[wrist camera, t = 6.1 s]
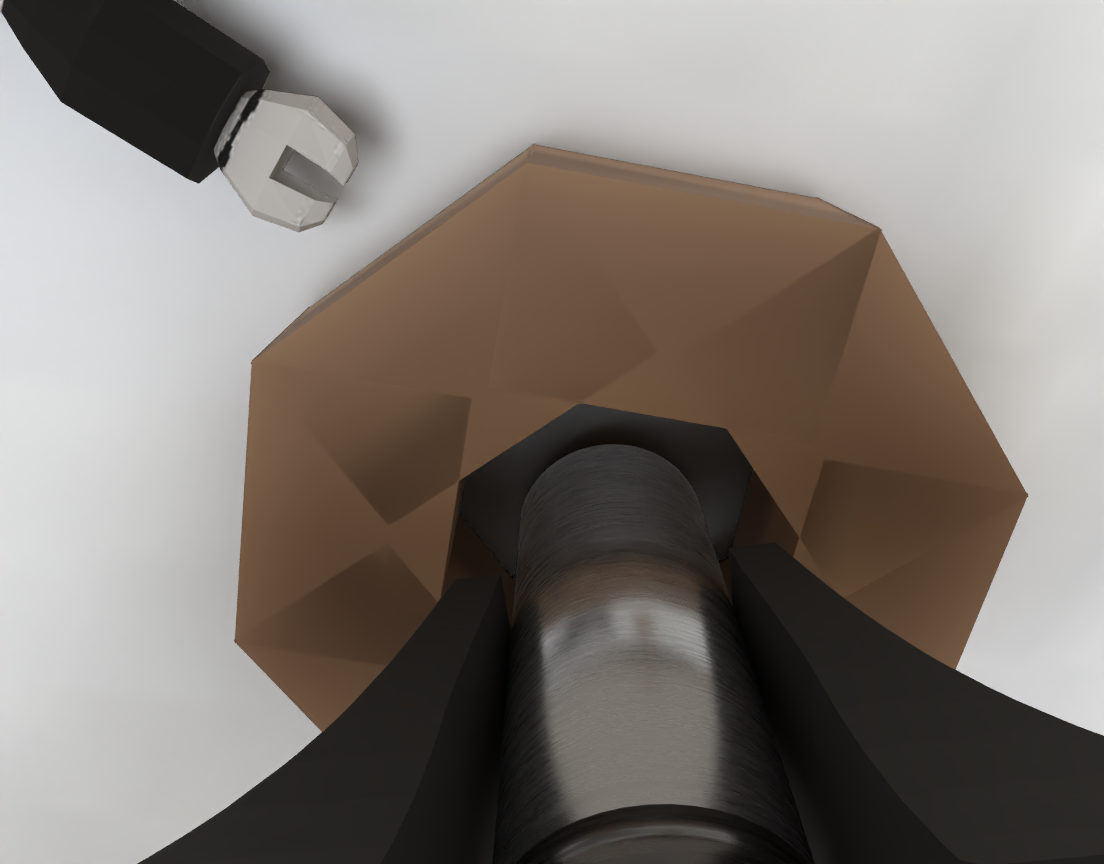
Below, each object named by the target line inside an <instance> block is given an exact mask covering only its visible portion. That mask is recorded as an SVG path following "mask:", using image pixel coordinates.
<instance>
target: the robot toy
mask: <svg viewBox="0 0 1104 864" xmlns="http://www.w3.org/2000/svg"><path fill="white" fill-rule="evenodd" d="M0 11H1V12H2V14H3V15H4V17H5V19H6V20H7V22H8V24H9V25H10V27H11V29H12V30H13V32H14V34H15V35H16V37H17V39H18V40H19V42H20V44H21V45H22V47H23V48H24V50H25V51H26V53H27V54H28V55H29V57H30V58H31V60H32V61H33V63H34V64H35V65H36V67H37V68H38V70H39V71H40V73H41V74H42V75H43V77H44V78H45V80H46V81H47V82H48V84H49V85H50V87H51V88H52V90H53V91H54V92H55V94H56V95H57V97H58V98H59V99H60V101H61V102H62V103H64V104H65V105H67V106H69V107H70V108H72V109H74V110H75V111H77V112H79V113H80V114H82V115H83V116H85V117H87V118H88V119H90V120H92V121H93V122H95V123H97V124H98V125H100V126H102V127H103V128H105V129H107V130H108V131H110V132H111V133H113V134H115V135H116V136H118V137H120V138H121V139H123V140H125V141H126V142H128V143H130V144H131V145H133V146H134V147H136V148H138V149H139V150H141V151H143V152H144V153H146V154H148V155H149V156H151V157H153V158H154V159H156V160H157V161H159V162H161V163H162V164H164V165H166V166H167V167H169V168H171V169H172V170H174V171H176V172H177V173H179V174H180V175H182V176H184V177H185V178H187V179H189V180H192V181H194V182H196V183H200V182H201V181H202V180H204V179H205V178H206V177H207V176H208V175H210V174H211V173H212V172H213V171H214V170H216V169H217V168H218V167H220V170H221V171H222V172H223V174H224V175H225V177H226V178H227V179H228V181H229V182H230V184H231V185H232V187H233V188H234V189H235V191H236V192H237V194H238V195H239V196H240V198H241V199H242V201H243V202H244V204H245V205H246V206H247V208H248V209H249V211H250V212H251V214H252V215H253V216H255V217H258V218H261V219H263V220H266V221H269V222H272V223H275V224H277V225H280V226H283V227H286V228H289V229H291V230H294V231H297V232H301V231H304V230H307V229H309V228H312V227H315V226H318V225H321V224H323V223H324V221H325V220H326V218H327V217H328V215H329V214H330V212H331V210H332V208H333V207H334V205H335V203H336V201H337V200H338V199H336V198H333V197H330V196H327V195H324V194H322V193H320V192H319V191H317V190H316V189H314V188H312V187H311V186H309V185H307V184H306V183H304V182H302V181H301V180H299V179H298V178H296V177H294V176H293V175H291V174H289V173H288V172H286V171H285V170H283V169H284V168H285V166H286V164H287V162H288V160H289V158H290V157H291V155H292V153H293V151H294V150H296V151H297V152H299V153H300V154H302V155H303V156H305V157H306V158H308V159H309V160H311V161H312V162H314V163H315V164H317V165H318V166H320V167H321V168H323V169H324V170H326V171H327V172H329V173H330V174H331V175H332V176H333V177H334V178H335V179H336V180H337V181H338V182H339V183H340V184H341V185H342V186H344V185H345V183H346V182H348V180H349V179H350V177H351V175H352V173H353V172H354V170H355V168H356V167H357V164H358V154H357V147H356V140H355V134H354V133H353V132H352V131H351V130H350V129H349V128H348V127H347V126H346V125H345V124H344V123H343V122H342V121H341V120H340V119H339V118H338V117H337V116H336V115H335V114H334V113H333V112H332V111H331V110H330V108H329V107H328V106H327V105H326V104H325V103H324V102H323V101H322V100H321V99H320V98H319V97H315V96H307V95H300V94H293V93H286V92H278V91H271V90H264V89H262V87H263V85H264V83H265V81H266V78H267V76H268V74H269V70H268V68H267V66H266V64H265V62H264V61H263V59H261V58H260V57H258V56H257V55H255V54H253V53H252V52H250V51H249V50H247V49H246V48H244V47H243V46H241V45H240V44H238V43H237V42H235V41H234V40H232V39H231V38H229V37H228V36H226V35H225V34H223V33H222V32H220V31H219V30H217V29H216V28H214V27H213V26H211V25H210V24H208V23H207V22H205V21H204V20H202V19H201V18H199V17H198V16H196V15H195V14H193V13H191V12H190V11H188V10H187V9H185V8H184V7H182V6H181V5H179V4H178V3H176V2H175V1H173V0H0Z"/></svg>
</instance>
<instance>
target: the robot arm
mask: <svg viewBox="0 0 1104 864" xmlns="http://www.w3.org/2000/svg"><path fill="white" fill-rule="evenodd" d="M729 561H730V574H731V588H732V602H733V609H734V613H735V616H736V619H737V622H738V625H739V628H740V631H741V634H742V638H743V641H744V644H745V647H746V650H747V653H748V656H749V659H750V663H751V666H752V669H753V672H754V675H755V678H756V681H757V684H758V688H759V691H760V694H761V697H762V700H763V703H764V706H765V709H766V713H767V716H768V719H769V722H770V725H771V728H772V731H773V734H774V738H775V741H776V744H777V747H778V750H779V753H780V756H781V759H782V762H783V766H784V769H785V772H786V775H787V778H788V781H789V784H790V787H791V791H792V794H793V797H794V800H795V803H796V806H797V809H798V812H799V816H800V819H801V822H802V825H803V828H804V831H805V834H806V837H807V841H808V844H809V847H810V850H811V853H812V856H813V859H814V862H815V864H1104V736H1102V735H1100V734H1097V733H1094V732H1092V731H1089V730H1086V729H1084V728H1081V727H1078V726H1076V725H1073V724H1071V723H1068V722H1066V721H1064V720H1061V719H1059V718H1056V717H1054V716H1052V715H1049V714H1047V713H1045V712H1042V711H1040V710H1038V709H1035V708H1033V707H1031V706H1028V705H1026V704H1023V703H1021V702H1019V701H1017V700H1014V699H1012V698H1010V697H1008V696H1006V695H1004V694H1002V693H1000V692H997V691H995V690H993V689H991V688H989V687H987V686H985V685H983V684H981V683H980V682H978V681H976V680H974V679H972V678H970V677H968V676H966V675H964V674H962V673H960V672H959V671H957V670H955V669H953V668H951V667H949V666H947V665H945V664H943V663H942V662H940V661H938V660H937V659H935V658H933V657H931V656H930V655H928V654H926V653H924V652H923V651H921V650H920V649H918V648H916V647H915V646H913V645H912V644H910V643H909V642H907V641H905V640H904V639H902V638H901V637H899V636H898V635H896V634H895V633H893V632H891V631H890V630H888V629H887V628H885V627H884V626H882V625H881V624H879V623H878V622H876V621H875V620H874V619H872V618H871V617H869V616H868V615H866V614H865V613H864V612H862V611H861V610H859V609H858V608H857V607H855V606H854V605H853V604H851V603H850V602H849V601H847V600H846V599H845V598H843V597H842V596H841V595H839V594H838V593H837V592H836V591H834V590H833V589H832V588H830V587H829V586H828V585H827V584H825V583H824V582H823V581H822V580H821V579H819V578H818V577H817V576H816V575H814V574H813V573H812V572H811V571H809V570H808V569H807V568H806V567H805V566H803V565H802V564H801V563H800V562H799V561H797V560H796V559H795V558H794V557H792V556H791V555H790V554H789V553H788V552H786V551H785V550H784V549H783V548H781V547H780V546H779V545H778V544H776V543H766V544H757V545H749V546H740V547H731V548H729ZM510 641H511V629H510V623H509V618H508V612H507V606H506V601H505V595H504V590H503V584H502V579H501V574H497V575H488V576H480V577H471V578H462V579H456V580H455V581H454V582H453V584H452V585H451V586H450V587H449V589H448V590H447V591H446V592H445V593H444V595H443V596H442V597H441V598H440V600H439V601H438V602H437V604H436V605H435V606H434V608H433V609H432V610H431V611H430V613H429V614H428V615H427V617H426V618H425V619H424V621H423V622H422V623H421V624H420V626H419V627H418V628H417V630H416V631H415V632H414V633H413V635H412V636H411V637H410V638H409V640H408V641H407V642H406V643H405V644H404V646H403V647H402V648H401V649H400V650H399V652H398V653H397V654H396V655H395V657H394V658H393V659H392V660H391V661H390V663H389V664H388V665H387V666H386V667H385V668H384V670H383V671H382V672H381V673H380V674H379V675H378V676H377V677H376V678H375V679H374V680H373V681H372V683H371V684H370V685H369V686H368V687H367V688H366V689H365V690H364V691H363V692H362V693H361V694H360V696H359V697H358V698H357V699H356V700H355V701H354V702H353V703H352V704H351V705H350V706H349V707H348V708H347V709H346V710H345V711H344V712H343V713H342V714H341V715H340V716H339V717H338V718H337V719H336V720H335V721H334V722H333V723H332V724H331V725H329V726H328V727H327V728H326V729H325V730H324V731H323V732H322V733H321V734H320V735H318V736H317V737H316V738H315V739H314V740H313V741H312V742H310V743H309V744H308V745H307V746H306V747H305V748H304V749H302V750H301V751H300V752H299V753H298V754H297V755H295V756H294V757H293V758H292V759H291V760H289V761H288V762H287V763H286V764H285V765H283V766H282V767H281V768H279V769H278V770H277V771H275V772H274V773H273V774H271V775H270V776H269V777H267V778H266V779H264V780H263V781H262V782H260V783H259V784H258V785H256V786H255V787H254V788H252V789H251V790H250V791H248V792H247V793H246V794H244V795H243V796H242V797H240V798H239V799H238V800H236V801H235V802H234V803H232V804H231V805H230V806H228V807H227V808H226V809H224V810H223V811H221V812H220V813H218V814H217V815H215V816H214V817H212V818H211V819H209V820H208V821H206V822H205V823H203V824H201V825H200V826H198V827H197V828H195V829H194V830H192V831H191V832H189V833H188V834H186V835H184V836H183V837H181V838H180V839H178V840H176V841H175V842H173V843H171V844H170V845H168V846H166V847H165V848H163V849H162V850H160V851H158V852H157V853H155V854H153V855H152V856H150V857H148V858H147V859H145V860H143V861H141V862H140V863H138V864H492V862H493V850H494V838H495V825H496V813H497V801H498V789H499V776H500V764H501V752H502V739H503V727H504V715H505V702H506V690H507V678H508V665H509V653H510Z"/></svg>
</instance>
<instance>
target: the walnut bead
mask: <svg viewBox="0 0 1104 864" xmlns="http://www.w3.org/2000/svg"><path fill="white" fill-rule="evenodd" d="M881 230H882V229H880V228H879V227H877V226H875V225H873V224H871V223H869V222H867V221H865V220H862V219H860V218H858V217H856V216H854V215H852V214H850V213H848V212H846V211H844V210H842V209H840V208H838V207H836V206H834V205H832V204H830V203H828V202H825V201H823V200H821V199H819V198H812V197H807V196H802V195H796V194H791V193H786V192H781V191H775V190H770V189H765V188H760V187H754V186H749V185H744V184H738V183H733V182H728V181H723V180H717V179H712V178H707V177H702V176H696V175H691V174H686V173H680V172H675V171H670V170H665V169H659V168H654V167H649V166H644V165H638V164H633V163H628V162H622V161H617V160H612V159H607V158H601V157H596V156H591V155H586V154H580V153H575V152H570V151H564V150H559V149H554V148H549V147H543V146H538V145H535V144H532V146H531V147H529V148H528V149H527V150H525V151H524V152H522V153H521V154H520V155H518V156H517V157H516V158H514V159H513V160H511V161H510V162H509V163H507V164H506V165H505V166H503V167H502V168H501V169H499V170H498V171H496V172H495V173H494V174H492V175H491V176H490V177H488V178H487V179H485V180H484V181H483V182H481V183H480V184H479V185H477V186H476V187H474V188H473V189H472V190H470V191H469V192H468V193H466V194H465V195H463V196H462V197H461V198H459V199H458V200H457V201H455V202H454V203H453V204H451V205H450V206H448V207H447V208H446V209H444V210H443V211H442V212H440V213H439V214H437V215H436V216H435V217H433V218H432V219H431V220H429V221H428V222H426V223H425V224H424V225H422V226H421V227H420V228H418V229H417V230H415V231H414V232H413V233H411V234H410V235H409V236H407V237H406V238H405V239H403V240H402V241H400V242H399V243H398V244H396V245H395V246H394V247H392V248H391V249H389V250H388V251H387V252H385V253H384V254H383V255H381V256H380V257H378V258H377V259H376V260H374V261H373V262H372V263H370V264H369V265H367V266H366V267H365V268H363V269H362V270H361V271H359V272H358V273H357V274H355V275H354V276H352V277H351V278H350V279H348V280H347V281H346V282H344V283H343V284H341V285H340V286H339V287H337V288H336V289H335V290H333V291H332V292H330V293H329V294H328V295H326V296H325V297H324V298H322V299H321V300H319V301H318V302H317V303H315V304H314V305H313V306H311V307H308V308H307V309H306V310H305V311H304V312H303V313H302V314H301V315H300V316H299V317H298V318H297V319H296V320H295V321H294V322H293V323H291V324H290V325H289V326H288V327H287V328H286V329H285V330H284V331H283V332H282V333H281V334H280V335H279V336H278V337H277V338H275V339H274V340H273V341H272V342H271V343H270V344H269V345H268V346H267V347H266V348H265V349H264V350H263V351H262V352H261V353H260V354H258V355H257V356H256V357H255V358H254V359H253V360H252V362H251V364H252V369H251V385H250V402H249V418H248V435H247V451H246V468H245V484H244V500H243V517H242V533H241V550H240V566H239V583H238V599H237V616H236V632H235V640H234V641H235V643H237V645H238V646H239V647H240V648H241V649H242V650H243V651H244V652H245V653H246V654H247V655H248V656H249V657H250V658H251V659H252V660H253V661H254V662H255V663H256V664H257V665H258V666H259V667H260V668H261V669H262V670H263V671H264V672H265V673H266V674H267V675H268V676H269V678H270V679H271V680H272V681H273V682H274V683H275V684H276V685H277V686H278V687H279V688H280V689H281V690H282V691H283V692H284V693H285V694H286V695H287V696H288V697H289V698H290V699H291V700H292V701H293V702H294V703H295V704H296V705H297V706H298V707H299V708H300V709H301V711H302V712H303V713H304V714H305V715H306V716H307V717H308V718H309V719H310V720H311V721H312V722H313V723H314V724H315V725H316V726H317V727H318V728H319V729H320V730H321V731H322V732H323V731H324V730H325V729H326V728H327V727H328V726H329V725H331V724H332V723H333V722H334V721H335V720H336V719H337V718H338V717H339V716H340V715H341V714H342V713H343V712H344V711H345V710H346V709H347V708H348V707H349V706H350V705H351V704H352V703H353V702H354V701H355V700H356V699H357V698H358V697H359V696H360V694H361V693H362V692H363V691H364V690H365V689H366V688H367V687H368V686H369V685H370V684H371V683H372V681H373V680H374V679H375V678H376V677H377V676H378V675H379V674H380V673H381V672H382V671H383V670H384V668H385V667H386V666H387V665H388V664H389V663H390V661H391V660H392V659H393V658H394V657H395V655H396V654H397V653H398V652H399V650H400V649H401V648H402V647H403V646H404V644H405V643H406V642H407V641H408V640H409V638H410V637H411V636H412V635H413V633H414V632H415V631H416V630H417V628H418V627H419V626H420V624H421V623H422V622H423V621H424V619H425V618H426V617H427V615H428V614H429V613H430V611H431V610H432V609H433V608H434V606H435V605H436V604H437V602H438V601H439V600H440V598H441V597H442V596H443V595H444V593H445V592H446V591H447V590H448V589H449V587H450V586H451V585H452V584H453V582H454V581H455V580H456V579H462V578H471V577H480V576H488V575H497V574H501V579H502V584H503V590H504V595H505V601H506V606H507V612H508V618H509V623H510V629H511V628H512V616H513V604H514V592H515V581H514V580H513V579H512V577H511V576H510V575H509V574H508V572H507V571H506V570H505V569H504V567H503V566H502V565H501V564H500V563H499V561H498V560H497V559H496V558H495V556H494V555H493V554H492V553H491V551H490V550H489V549H488V548H487V547H486V545H485V544H484V543H483V542H482V540H481V539H480V538H479V537H478V535H477V534H476V533H475V532H474V531H473V529H472V528H471V527H470V526H469V524H468V523H467V522H466V521H465V520H464V518H463V517H462V516H461V515H460V509H461V503H462V497H463V491H464V484H465V478H466V476H467V475H469V474H470V473H472V472H473V471H475V470H476V469H478V468H480V467H481V466H483V465H484V464H486V463H487V462H489V461H490V460H492V459H494V458H495V457H497V456H498V455H500V454H501V453H503V452H504V451H506V450H508V449H509V448H511V447H512V446H514V445H515V444H517V443H518V442H520V441H521V440H523V439H525V438H526V437H528V436H529V435H531V434H532V433H534V432H535V431H537V430H539V429H540V428H542V427H543V426H545V425H546V424H548V423H549V422H551V421H552V420H554V419H556V418H557V417H559V416H560V415H562V414H563V413H565V412H566V411H568V410H570V409H571V408H573V407H574V406H576V405H577V404H579V403H582V404H588V405H593V406H599V407H605V408H611V409H617V410H622V411H628V412H634V413H640V414H645V415H651V416H657V417H663V418H669V419H674V420H680V421H686V422H692V423H697V424H703V425H709V426H715V427H721V428H726V429H727V430H728V432H729V433H730V435H731V436H732V438H733V439H734V441H735V442H736V444H737V445H738V447H739V448H740V450H741V451H742V453H743V454H744V456H745V457H746V459H747V460H748V462H749V463H750V465H751V466H752V468H753V469H754V470H753V473H752V477H751V480H750V484H749V487H748V491H747V494H746V498H745V501H744V505H743V508H742V511H741V515H740V518H739V522H738V525H737V529H736V532H735V536H734V539H733V543H732V546H731V547H740V546H749V545H757V544H766V543H776V544H778V545H779V546H780V547H781V548H783V549H784V550H785V551H786V552H788V553H789V554H790V555H791V556H792V557H794V558H795V559H796V560H797V561H799V562H800V563H801V564H802V565H803V566H805V567H806V568H807V569H808V570H809V571H811V572H812V573H813V574H814V575H816V576H817V577H818V578H819V579H821V580H822V581H823V582H824V583H825V584H827V585H828V586H829V587H830V588H832V589H833V590H834V591H836V592H837V593H838V594H839V595H841V596H842V597H843V598H845V599H846V600H847V601H849V602H850V603H851V604H853V605H854V606H855V607H857V608H858V609H859V610H861V611H862V612H864V613H865V614H866V615H868V616H869V617H871V618H872V619H874V620H875V621H876V622H878V623H879V624H881V625H882V626H884V627H885V628H887V629H888V630H890V631H891V632H893V633H895V634H896V635H898V636H899V637H901V638H902V639H904V640H905V641H907V642H909V643H910V644H912V645H913V646H915V647H916V648H918V649H920V650H921V651H923V652H924V653H926V654H928V655H930V656H931V657H933V658H935V659H937V660H938V661H940V662H942V663H943V664H945V665H947V666H949V667H951V668H953V669H956V667H957V664H958V662H959V660H960V657H961V655H962V652H963V650H964V648H965V645H966V643H967V640H968V638H969V636H970V633H971V631H972V628H973V626H974V623H975V621H976V619H977V616H978V614H979V611H980V609H981V607H982V604H983V602H984V599H985V597H986V595H987V592H988V590H989V587H990V585H991V583H992V580H993V578H994V575H995V573H996V571H997V568H998V566H999V563H1000V561H1001V559H1002V556H1003V554H1004V551H1005V549H1006V547H1007V544H1008V542H1009V539H1010V537H1011V535H1012V532H1013V530H1014V527H1015V525H1016V523H1017V520H1018V518H1019V515H1020V513H1021V511H1022V508H1023V506H1024V503H1025V501H1026V498H1027V497H1028V494H1027V493H1026V492H1025V490H1024V488H1023V486H1022V484H1021V483H1020V481H1019V479H1018V477H1017V475H1016V474H1015V472H1014V470H1013V468H1012V466H1011V464H1010V463H1009V461H1008V459H1007V457H1006V455H1005V454H1004V452H1003V450H1002V448H1001V446H1000V445H999V443H998V441H997V439H996V437H995V436H994V434H993V432H992V430H991V428H990V427H989V425H988V423H987V421H986V419H985V418H984V416H983V414H982V412H981V410H980V409H979V407H978V405H977V403H976V401H975V400H974V398H973V396H972V394H971V392H970V391H969V389H968V387H967V385H966V383H965V382H964V380H963V378H962V376H961V374H960V372H959V371H958V369H957V367H956V365H955V363H954V362H953V360H952V358H951V356H950V354H949V353H948V351H947V349H946V347H945V345H944V344H943V342H942V340H941V338H940V336H939V335H938V333H937V331H936V329H935V327H934V326H933V324H932V322H931V320H930V318H929V317H928V315H927V313H926V311H925V309H924V308H923V306H922V304H921V302H920V300H919V299H918V297H917V295H916V293H915V291H914V290H913V288H912V286H911V284H910V282H909V281H908V279H907V277H906V275H905V273H904V271H903V270H902V268H901V266H900V264H899V262H898V261H897V259H896V257H895V255H894V253H893V252H892V250H891V248H890V246H889V244H888V243H887V241H886V239H885V237H884V235H883V234H882V232H881ZM719 566H720V569H721V572H722V575H723V578H724V581H725V584H726V588H727V591H728V594H729V597H730V600H731V603H732V606H733V602H732V588H731V574H730V561H729V557H728V558H727V559H725V560H724V561H722V562H720V563H719Z"/></svg>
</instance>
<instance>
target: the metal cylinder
mask: <svg viewBox="0 0 1104 864" xmlns="http://www.w3.org/2000/svg"><path fill="white" fill-rule="evenodd" d="M492 864H815V862H814V859H813V856H812V853H811V850H810V847H809V844H808V841H807V837H806V834H805V831H804V828H803V825H802V822H801V819H800V816H799V812H798V809H797V806H796V803H795V800H794V797H793V794H792V791H791V787H790V784H789V781H788V778H787V775H786V772H785V769H784V766H783V762H782V759H781V756H780V753H779V750H778V747H777V744H776V741H775V738H774V734H773V731H772V728H771V725H770V722H769V719H768V716H767V713H766V709H765V706H764V703H763V700H762V697H761V694H760V691H759V688H758V684H757V681H756V678H755V675H754V672H753V669H752V666H751V663H750V659H749V656H748V653H747V650H746V647H745V644H744V641H743V638H742V634H741V631H740V628H739V625H738V622H737V619H736V616H735V613H734V609H733V606H732V603H731V600H730V597H729V594H728V591H727V588H726V584H725V581H724V578H723V575H722V572H721V569H720V566H719V563H718V559H717V556H716V553H715V550H714V547H713V544H712V541H711V538H710V534H709V531H708V528H707V525H706V522H705V519H704V516H703V513H702V509H701V506H700V503H699V500H698V498H697V495H696V493H695V491H694V489H693V487H692V486H691V484H690V482H689V481H688V479H687V478H686V477H685V476H684V475H683V473H682V472H681V471H680V470H679V469H678V468H676V467H675V466H674V465H673V464H672V463H670V462H669V461H667V460H666V459H664V458H663V457H661V456H659V455H657V454H655V453H653V452H651V451H648V450H645V449H642V448H639V447H634V446H629V445H620V444H605V445H597V446H591V447H588V448H584V449H580V450H578V451H575V452H573V453H570V454H568V455H566V456H565V457H563V458H561V459H559V460H558V461H556V462H555V463H554V464H552V465H551V466H550V467H548V468H547V469H546V470H545V471H544V472H543V473H542V474H541V475H540V476H539V478H538V479H537V480H536V481H535V483H534V484H533V486H532V487H531V489H530V491H529V492H528V494H527V497H526V499H525V502H524V504H523V508H522V512H521V519H520V530H519V542H518V555H517V567H516V579H515V592H514V604H513V616H512V628H511V641H510V653H509V665H508V678H507V690H506V702H505V715H504V727H503V739H502V752H501V764H500V776H499V789H498V801H497V813H496V825H495V838H494V850H493V862H492Z"/></svg>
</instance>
